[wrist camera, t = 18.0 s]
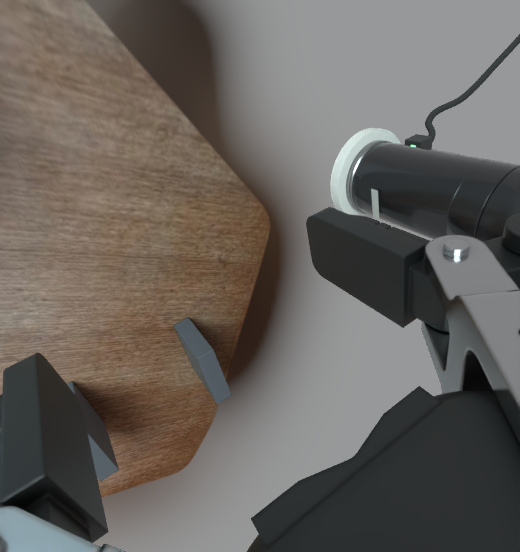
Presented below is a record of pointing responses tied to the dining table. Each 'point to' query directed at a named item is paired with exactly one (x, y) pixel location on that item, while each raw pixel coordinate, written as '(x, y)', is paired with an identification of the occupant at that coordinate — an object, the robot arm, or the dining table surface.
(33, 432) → the robot arm
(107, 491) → the dining table surface
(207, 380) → the grey parallel blocks
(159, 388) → the dining table surface
